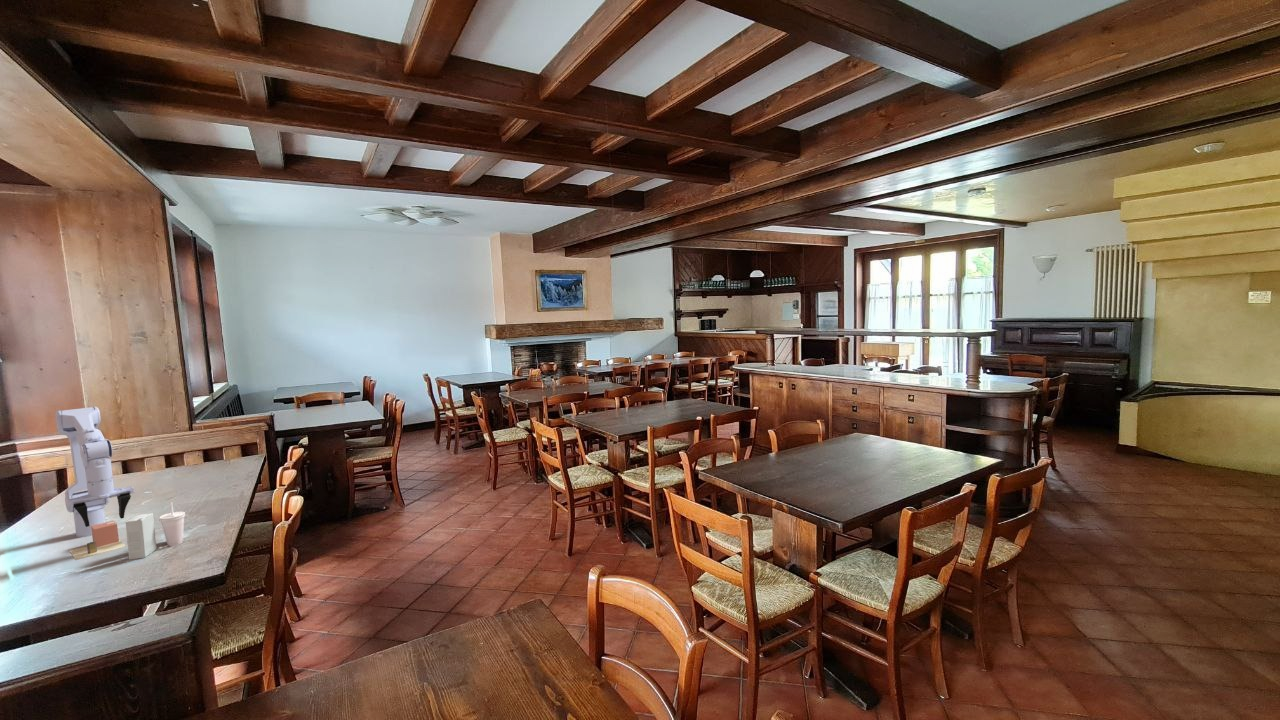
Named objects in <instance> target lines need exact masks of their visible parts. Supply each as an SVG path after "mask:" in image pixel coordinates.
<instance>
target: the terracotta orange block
mask: <svg viewBox="0 0 1280 720" xmlns="http://www.w3.org/2000/svg"><path fill="white" fill-rule="evenodd" d="M91 530H92V535H91V536H92V538H91V539H92V542H96V546H97V547H101V546H104V545H108V544H112V543H116V542H119V540H120V538H119V529H118V523H117V522H116V521H114V520H110V521H106V523H101V524H97V525H93V526H91Z"/></svg>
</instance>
